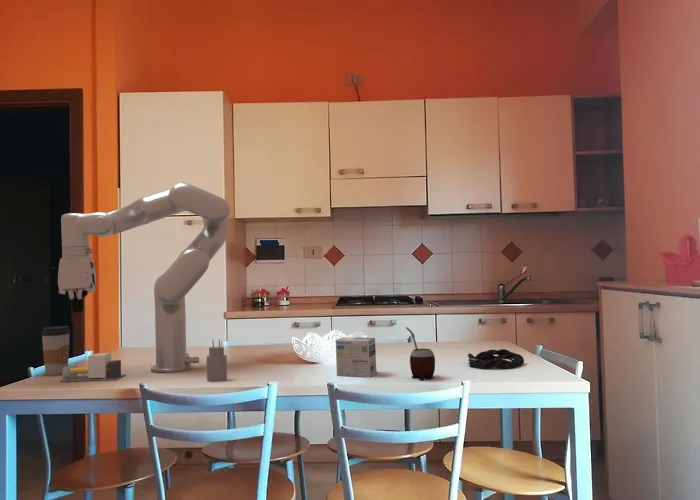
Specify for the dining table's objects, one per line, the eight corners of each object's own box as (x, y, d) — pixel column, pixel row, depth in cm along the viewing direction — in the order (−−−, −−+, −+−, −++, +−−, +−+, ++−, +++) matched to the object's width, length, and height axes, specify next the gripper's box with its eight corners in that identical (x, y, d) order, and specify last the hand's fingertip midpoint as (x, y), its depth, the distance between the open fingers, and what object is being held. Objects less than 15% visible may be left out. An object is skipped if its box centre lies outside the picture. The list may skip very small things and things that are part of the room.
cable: (519, 361, 174) (519, 348, 174) (530, 370, 160) (529, 355, 160) (466, 362, 176) (465, 348, 176) (471, 370, 162) (470, 356, 162)
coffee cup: (58, 376, 170) (57, 328, 171) (35, 376, 172) (35, 328, 172) (76, 371, 178) (76, 325, 179) (54, 370, 180) (54, 325, 180)
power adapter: (209, 379, 159) (208, 338, 159) (227, 379, 159) (226, 338, 159) (206, 381, 156) (205, 340, 156) (224, 381, 156) (223, 339, 156)
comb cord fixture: (125, 375, 169) (125, 359, 169) (116, 380, 162) (116, 363, 162) (70, 377, 168) (70, 360, 168) (59, 382, 161) (59, 365, 161)
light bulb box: (377, 373, 161) (376, 336, 162) (370, 377, 155) (369, 340, 155) (343, 371, 165) (342, 336, 165) (335, 376, 159) (334, 339, 159)
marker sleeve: (111, 374, 167) (110, 353, 167) (105, 377, 163) (104, 355, 163) (95, 374, 167) (94, 353, 167) (88, 378, 163) (88, 356, 163)
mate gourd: (436, 375, 155) (434, 323, 155) (434, 382, 147) (432, 327, 147) (410, 375, 156) (408, 323, 157) (407, 381, 149) (405, 327, 149)
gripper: (105, 252, 172) (107, 309, 171) (57, 254, 171) (59, 312, 171) (95, 251, 164) (97, 312, 164) (45, 254, 163) (47, 314, 163)
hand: (77, 311), depth 167 cm, fingers closed
